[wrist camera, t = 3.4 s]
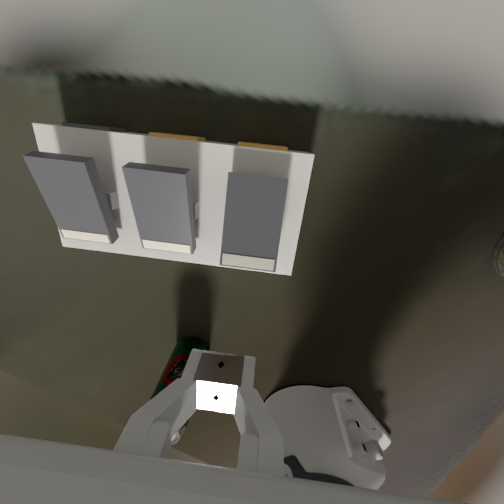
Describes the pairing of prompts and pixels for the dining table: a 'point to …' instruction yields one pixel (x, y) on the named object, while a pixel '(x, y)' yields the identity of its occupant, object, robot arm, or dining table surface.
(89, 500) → the robot arm
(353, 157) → the dining table surface
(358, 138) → the dining table surface
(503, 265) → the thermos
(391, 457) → the dining table surface
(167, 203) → the middle rocker
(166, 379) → the soda can
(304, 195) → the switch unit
